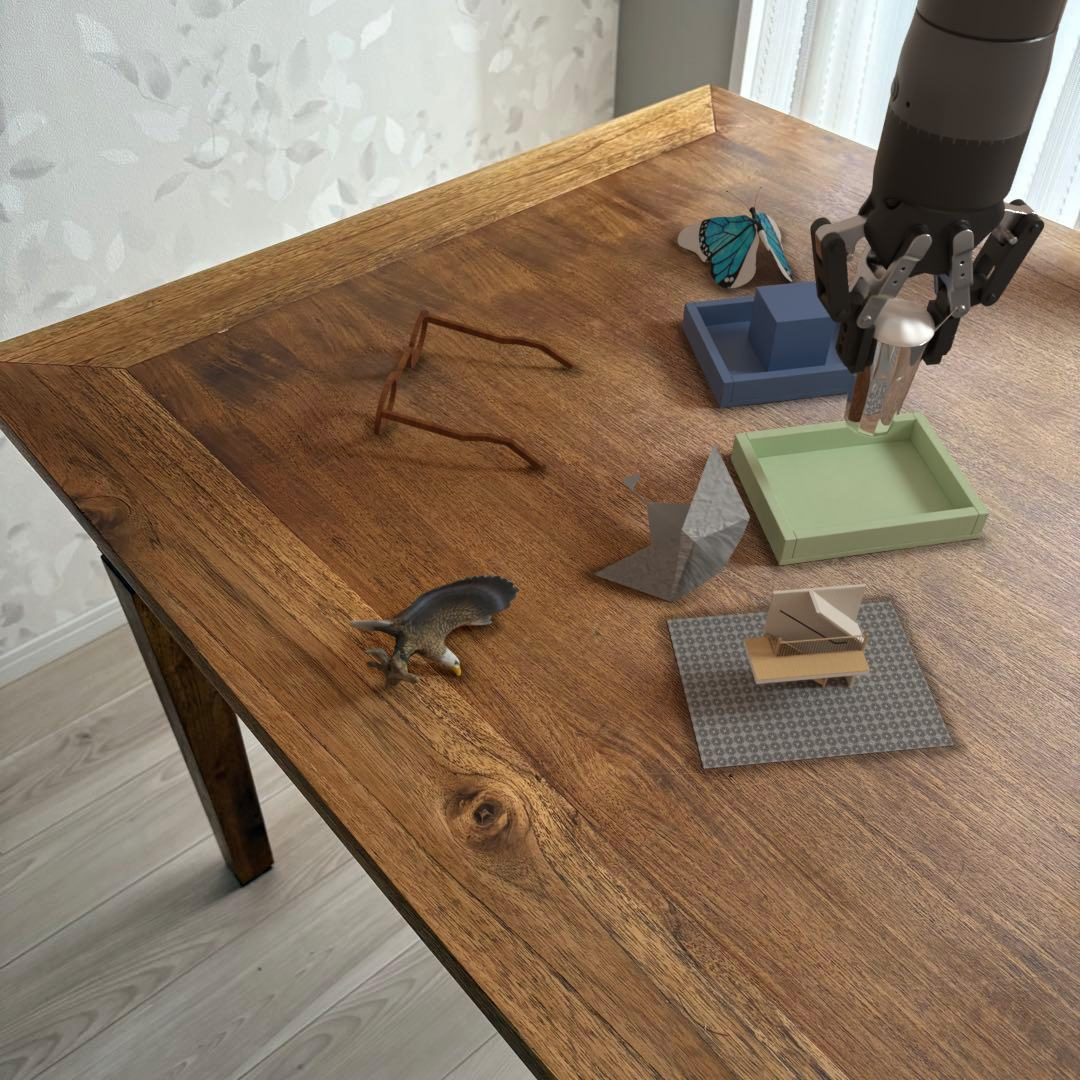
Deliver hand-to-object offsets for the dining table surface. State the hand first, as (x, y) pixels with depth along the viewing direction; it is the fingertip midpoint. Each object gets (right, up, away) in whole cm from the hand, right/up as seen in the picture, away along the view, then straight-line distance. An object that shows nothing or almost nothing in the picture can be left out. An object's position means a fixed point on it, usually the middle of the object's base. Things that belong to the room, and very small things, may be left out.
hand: (890, 360), depth 72 cm
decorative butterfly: (-4, +14, +31) cm, 34 cm away
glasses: (-27, -1, +16) cm, 32 cm away
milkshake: (0, -4, +4) cm, 6 cm away
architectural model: (-6, -20, -3) cm, 21 cm away
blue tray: (-2, +4, +20) cm, 21 cm away
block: (-2, +4, +20) cm, 21 cm away
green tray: (0, -8, +9) cm, 12 cm away
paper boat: (-13, -13, +5) cm, 19 cm away
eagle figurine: (-29, -19, -1) cm, 35 cm away
